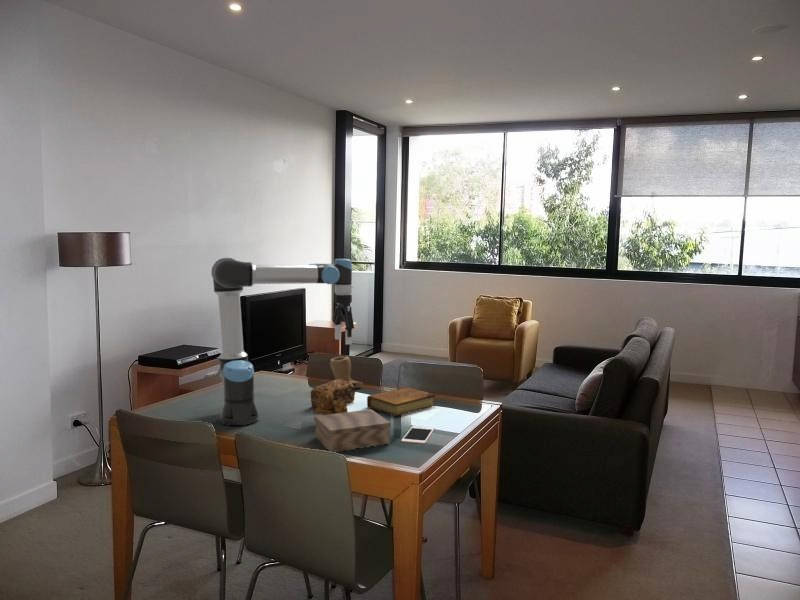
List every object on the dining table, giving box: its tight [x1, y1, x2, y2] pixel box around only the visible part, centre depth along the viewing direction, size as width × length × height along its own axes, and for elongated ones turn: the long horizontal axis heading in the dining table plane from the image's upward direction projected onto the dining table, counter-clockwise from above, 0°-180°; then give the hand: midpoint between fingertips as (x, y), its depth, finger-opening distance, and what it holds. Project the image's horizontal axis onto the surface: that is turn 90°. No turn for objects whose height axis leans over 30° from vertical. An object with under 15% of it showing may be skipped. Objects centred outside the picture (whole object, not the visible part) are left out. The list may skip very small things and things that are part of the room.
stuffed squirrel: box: [314, 390, 348, 415], centre depth 252 cm, size 10×14×13 cm
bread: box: [310, 379, 356, 409], centre depth 280 cm, size 19×11×10 cm, turn 143°
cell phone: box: [401, 425, 436, 445], centre depth 239 cm, size 9×18×1 cm, turn 165°
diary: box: [366, 386, 436, 417], centre depth 277 cm, size 23×19×6 cm
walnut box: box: [313, 408, 391, 453], centre depth 232 cm, size 23×19×8 cm
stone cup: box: [329, 355, 364, 389], centre depth 310 cm, size 15×12×15 cm
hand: (343, 341), depth 283 cm, fingers open, 13 cm apart
